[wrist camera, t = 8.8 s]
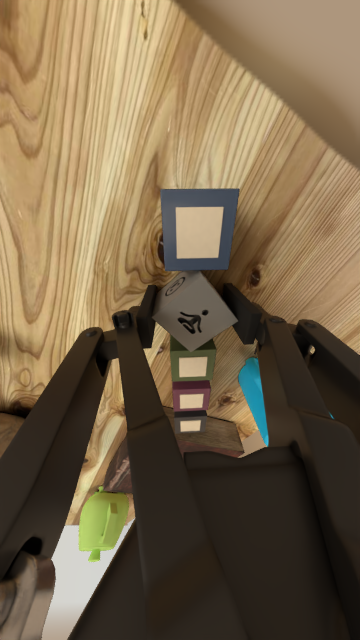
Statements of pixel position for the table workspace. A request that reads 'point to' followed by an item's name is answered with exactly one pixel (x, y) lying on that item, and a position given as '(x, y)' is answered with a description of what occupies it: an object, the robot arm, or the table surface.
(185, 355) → the block
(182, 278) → the dice cube
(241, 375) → the mug
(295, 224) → the table surface
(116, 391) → the table surface
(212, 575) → the robot arm
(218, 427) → the hardback book
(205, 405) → the block
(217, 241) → the block
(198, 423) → the block
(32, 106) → the table surface
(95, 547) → the teapot
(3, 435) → the bowl
